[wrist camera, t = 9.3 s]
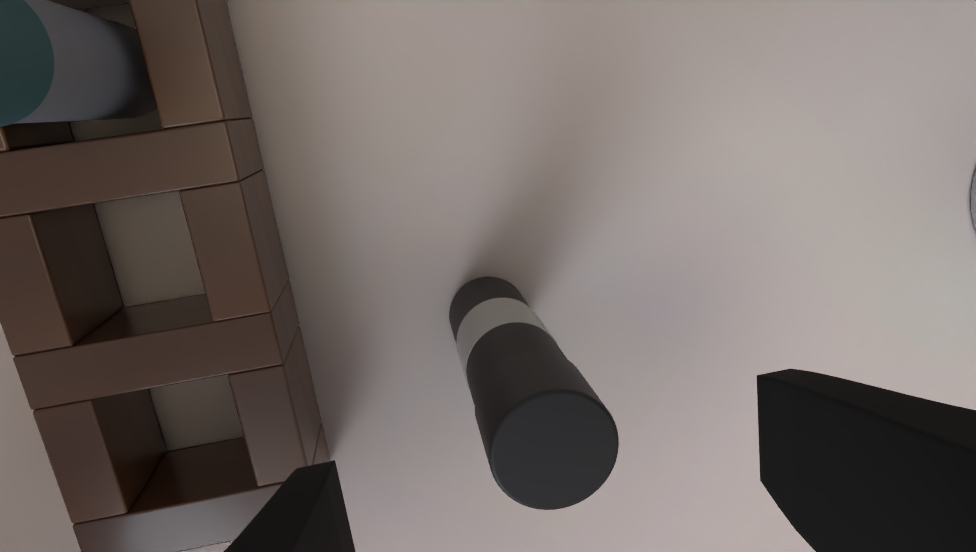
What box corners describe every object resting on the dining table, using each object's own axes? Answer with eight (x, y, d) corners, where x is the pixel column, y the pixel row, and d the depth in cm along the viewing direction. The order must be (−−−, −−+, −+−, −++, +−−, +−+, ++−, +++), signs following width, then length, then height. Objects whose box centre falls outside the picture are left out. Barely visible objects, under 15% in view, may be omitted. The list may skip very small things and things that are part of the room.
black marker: (530, 343, 20) (624, 496, 12) (453, 357, 19) (499, 523, 12) (521, 268, 19) (614, 378, 11) (441, 282, 19) (480, 404, 11)
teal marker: (182, 113, 17) (7, 118, 9) (86, 126, 16) (-179, 144, 9) (157, 15, 16) (-53, -69, 8) (57, 28, 16) (-255, -46, 8)
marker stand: (331, 461, 19) (321, 522, 17) (132, 501, 19) (87, 571, 16) (210, -67, 16) (171, -107, 13) (-42, -39, 15) (-142, -73, 12)
